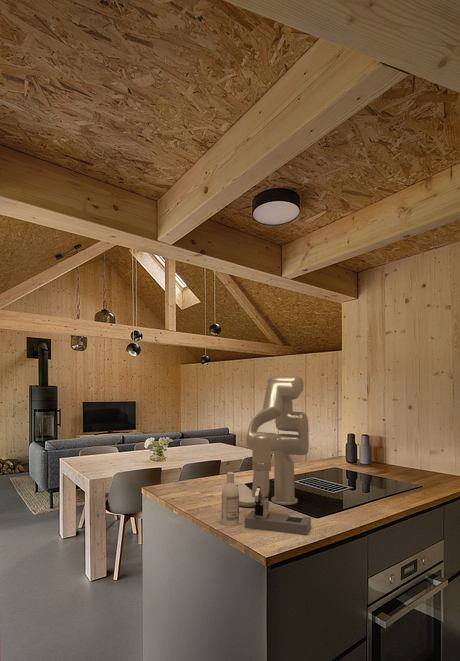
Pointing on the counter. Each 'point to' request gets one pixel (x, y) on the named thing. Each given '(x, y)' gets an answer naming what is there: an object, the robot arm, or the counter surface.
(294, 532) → the socket block
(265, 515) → the plug
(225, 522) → the bath foam
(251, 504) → the spoon rest
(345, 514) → the counter surface
